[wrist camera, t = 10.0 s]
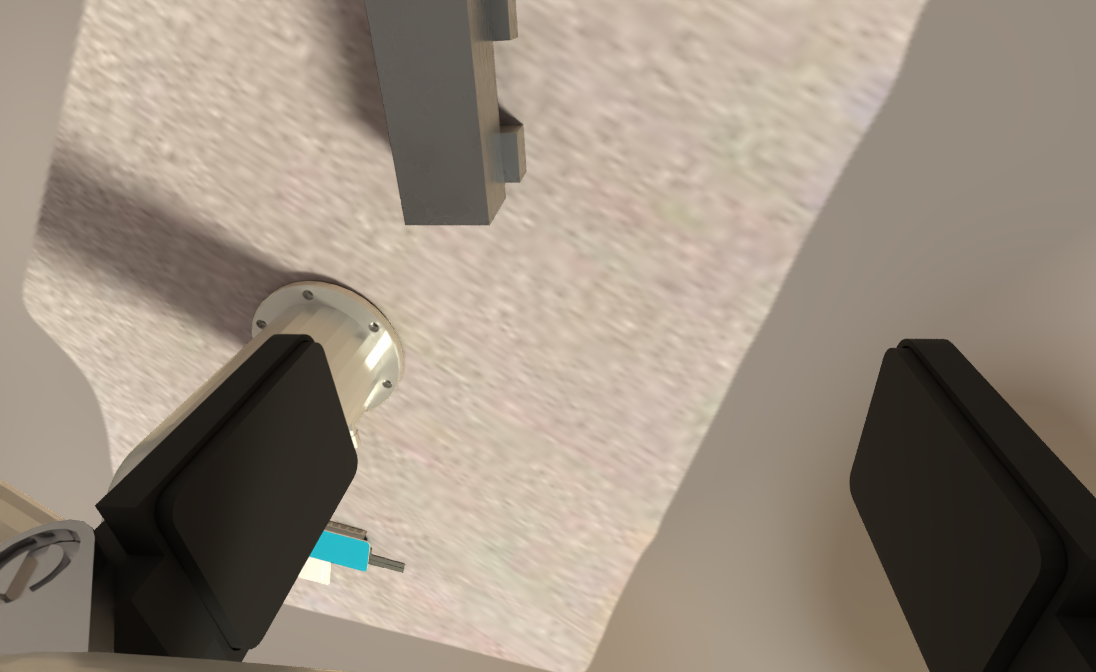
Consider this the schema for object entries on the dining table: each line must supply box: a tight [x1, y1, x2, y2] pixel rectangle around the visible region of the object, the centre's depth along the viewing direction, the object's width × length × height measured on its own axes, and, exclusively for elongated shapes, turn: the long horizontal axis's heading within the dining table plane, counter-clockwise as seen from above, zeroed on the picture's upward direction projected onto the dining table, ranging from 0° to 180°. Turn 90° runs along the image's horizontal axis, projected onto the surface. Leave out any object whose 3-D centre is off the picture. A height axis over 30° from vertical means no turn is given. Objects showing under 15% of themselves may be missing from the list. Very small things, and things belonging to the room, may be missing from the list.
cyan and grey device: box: [299, 522, 405, 585], centre depth 62 cm, size 20×12×2 cm, turn 76°
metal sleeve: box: [365, 0, 526, 225], centre depth 33 cm, size 12×7×8 cm, turn 3°
